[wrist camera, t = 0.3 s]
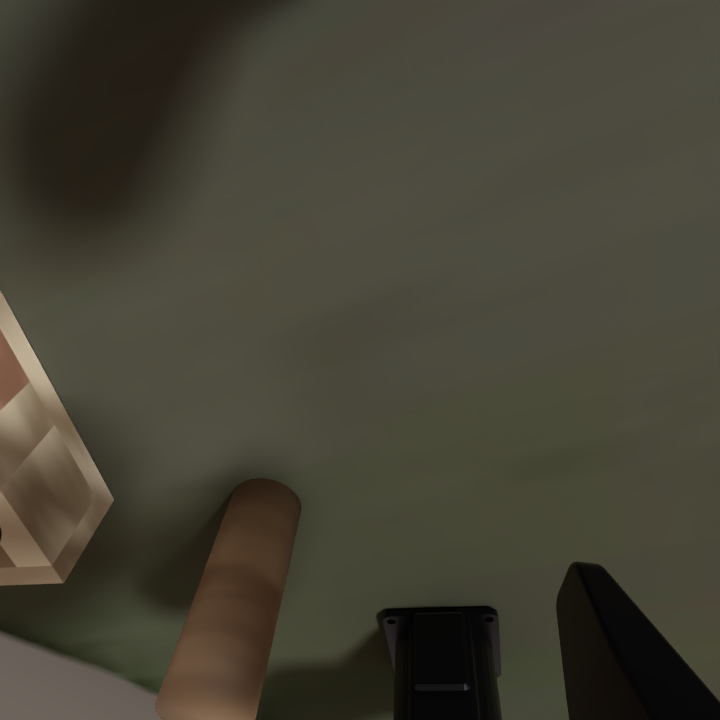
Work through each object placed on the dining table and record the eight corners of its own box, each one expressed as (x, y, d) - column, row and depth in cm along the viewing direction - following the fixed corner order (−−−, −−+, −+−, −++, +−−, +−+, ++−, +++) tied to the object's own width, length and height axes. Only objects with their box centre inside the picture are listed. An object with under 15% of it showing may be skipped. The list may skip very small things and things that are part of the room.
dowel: (307, 527, 29) (265, 739, 21) (241, 530, 30) (174, 738, 21) (292, 476, 27) (239, 687, 19) (222, 481, 28) (140, 688, 19)
